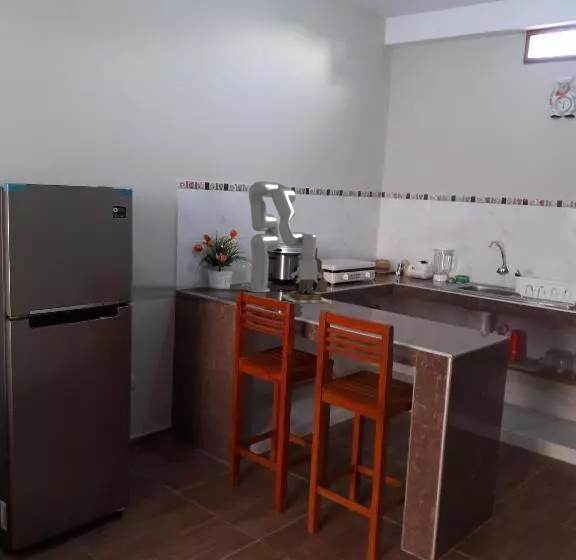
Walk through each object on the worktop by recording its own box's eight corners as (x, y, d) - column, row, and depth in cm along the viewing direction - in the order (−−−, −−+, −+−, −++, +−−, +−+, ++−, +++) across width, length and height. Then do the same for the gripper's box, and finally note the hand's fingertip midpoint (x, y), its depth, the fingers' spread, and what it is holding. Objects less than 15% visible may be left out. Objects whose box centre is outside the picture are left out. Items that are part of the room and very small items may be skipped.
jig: (293, 303, 319) (293, 296, 319) (281, 296, 336) (281, 290, 336) (329, 303, 326) (330, 296, 326) (316, 296, 343) (316, 290, 342)
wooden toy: (322, 290, 368) (325, 247, 364) (326, 292, 361) (329, 248, 358) (297, 289, 363) (300, 246, 359) (301, 291, 357) (304, 247, 353)
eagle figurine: (316, 296, 331) (309, 285, 337) (313, 287, 326) (305, 276, 332) (304, 303, 331) (296, 292, 337) (300, 294, 325) (293, 284, 331)
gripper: (294, 258, 321) (292, 291, 324) (326, 258, 327) (323, 291, 330) (289, 256, 328) (287, 289, 331) (320, 257, 334) (318, 289, 337)
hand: (305, 290), depth 330 cm, fingers open, 9 cm apart
